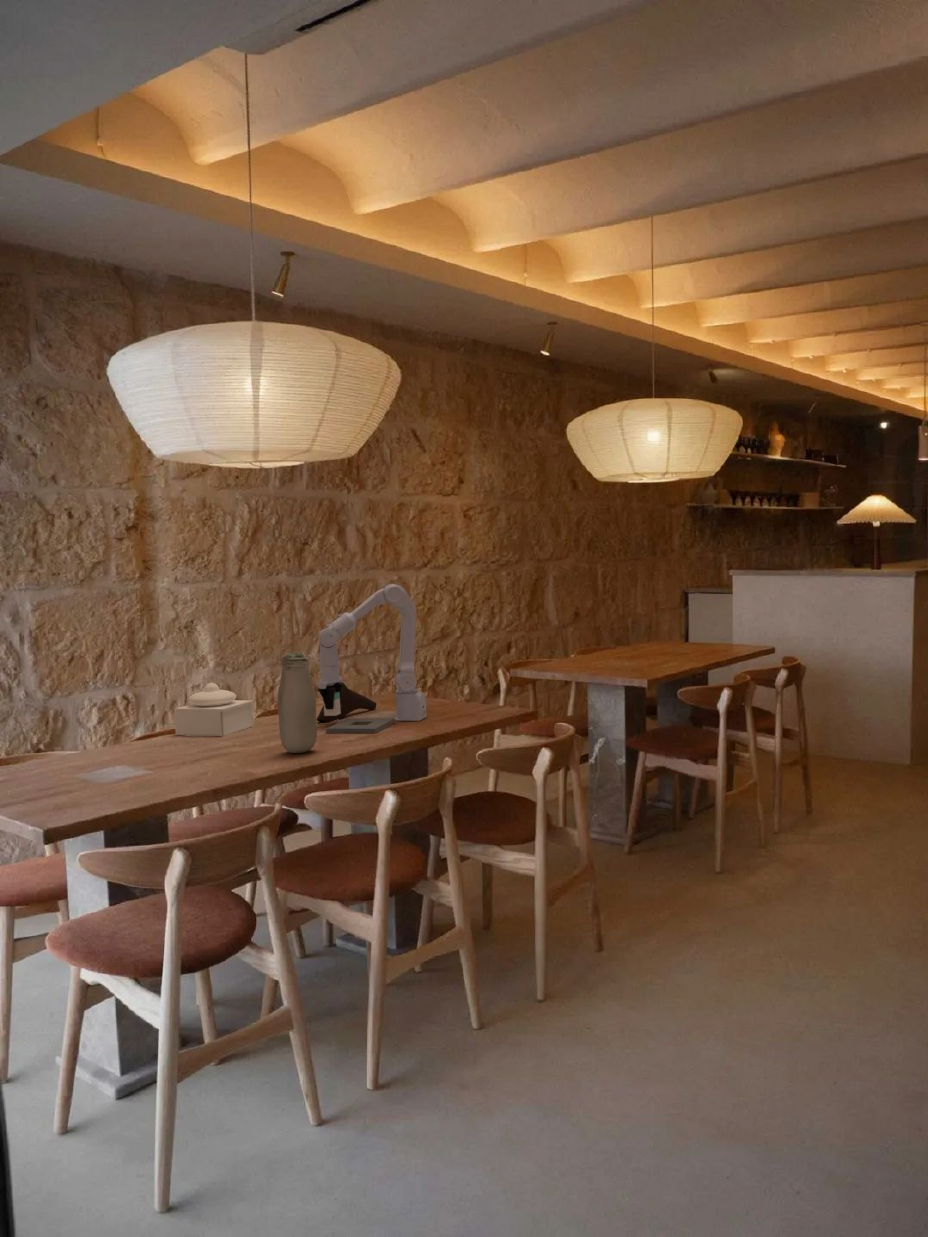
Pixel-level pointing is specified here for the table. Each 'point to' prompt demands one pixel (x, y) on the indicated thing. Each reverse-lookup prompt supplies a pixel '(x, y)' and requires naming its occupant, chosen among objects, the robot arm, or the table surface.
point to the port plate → (361, 725)
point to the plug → (336, 706)
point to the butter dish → (213, 713)
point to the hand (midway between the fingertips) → (332, 708)
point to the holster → (348, 704)
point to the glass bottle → (297, 704)
